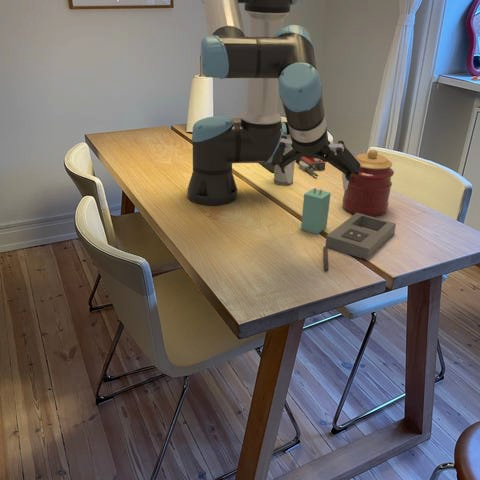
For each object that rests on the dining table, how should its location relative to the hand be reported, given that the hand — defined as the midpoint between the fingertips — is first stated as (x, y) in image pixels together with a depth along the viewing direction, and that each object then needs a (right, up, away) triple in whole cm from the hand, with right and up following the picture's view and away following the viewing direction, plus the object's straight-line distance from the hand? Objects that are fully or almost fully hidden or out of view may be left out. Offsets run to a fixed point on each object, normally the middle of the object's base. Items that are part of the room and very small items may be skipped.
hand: (318, 181), depth 119 cm
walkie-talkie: (+7, +11, +56) cm, 57 cm away
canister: (+18, -5, +25) cm, 31 cm away
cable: (+1, -19, -3) cm, 19 cm away
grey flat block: (+12, -14, +6) cm, 20 cm away
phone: (-7, +12, +57) cm, 59 cm away
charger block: (+1, -11, +12) cm, 16 cm away
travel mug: (-5, +5, +42) cm, 43 cm away
